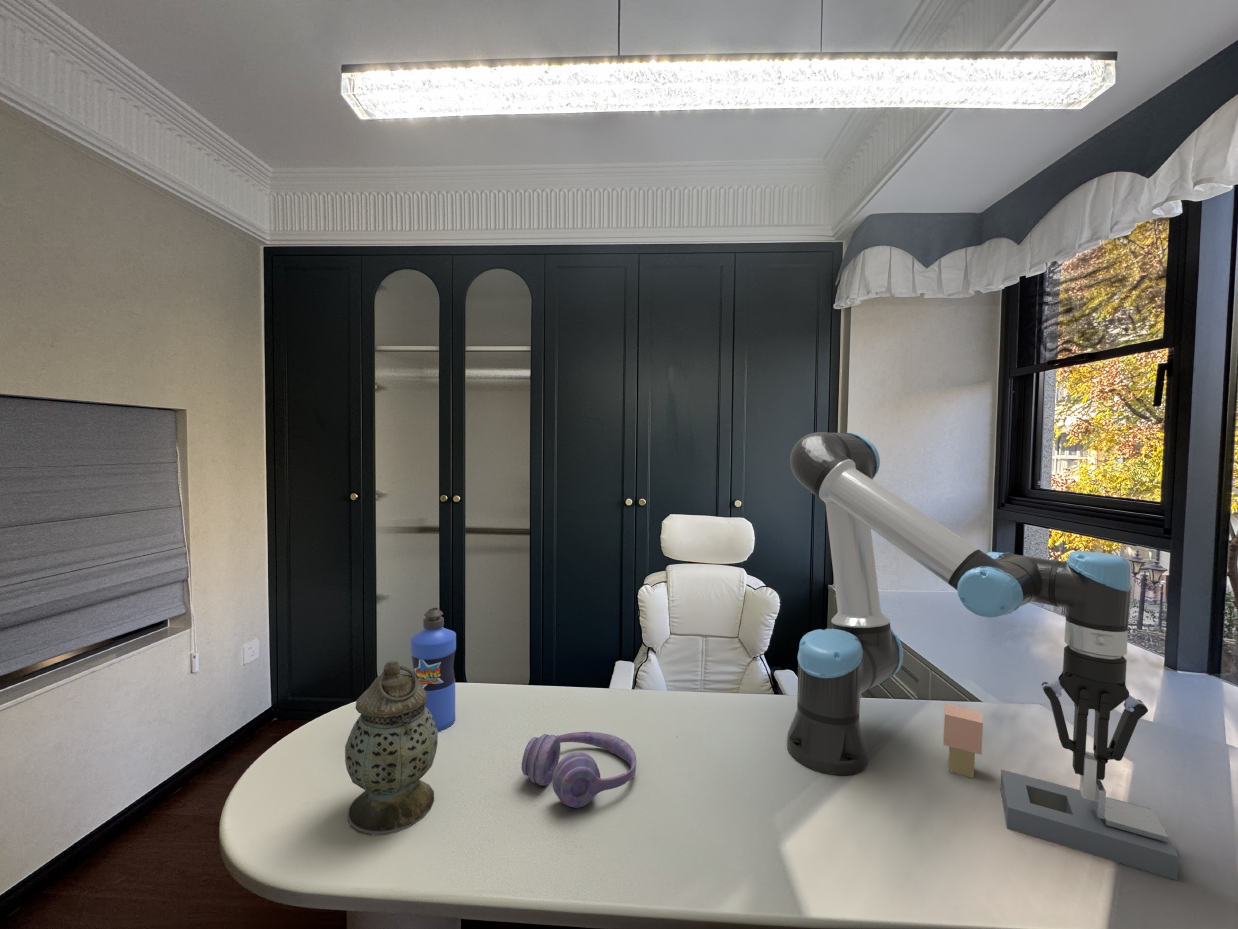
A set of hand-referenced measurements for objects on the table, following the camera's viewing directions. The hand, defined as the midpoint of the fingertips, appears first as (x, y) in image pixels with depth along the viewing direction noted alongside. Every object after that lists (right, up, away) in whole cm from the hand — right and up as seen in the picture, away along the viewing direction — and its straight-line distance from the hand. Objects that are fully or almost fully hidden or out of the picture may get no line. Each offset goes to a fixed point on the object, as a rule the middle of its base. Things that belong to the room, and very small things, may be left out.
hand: (1087, 795), depth 88 cm
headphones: (-82, -5, +13) cm, 83 cm away
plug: (-10, -5, +17) cm, 20 cm away
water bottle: (-116, -3, +31) cm, 120 cm away
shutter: (+4, -2, -2) cm, 5 cm away
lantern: (-113, -5, +4) cm, 113 cm away
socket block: (-1, -6, +1) cm, 6 cm away
